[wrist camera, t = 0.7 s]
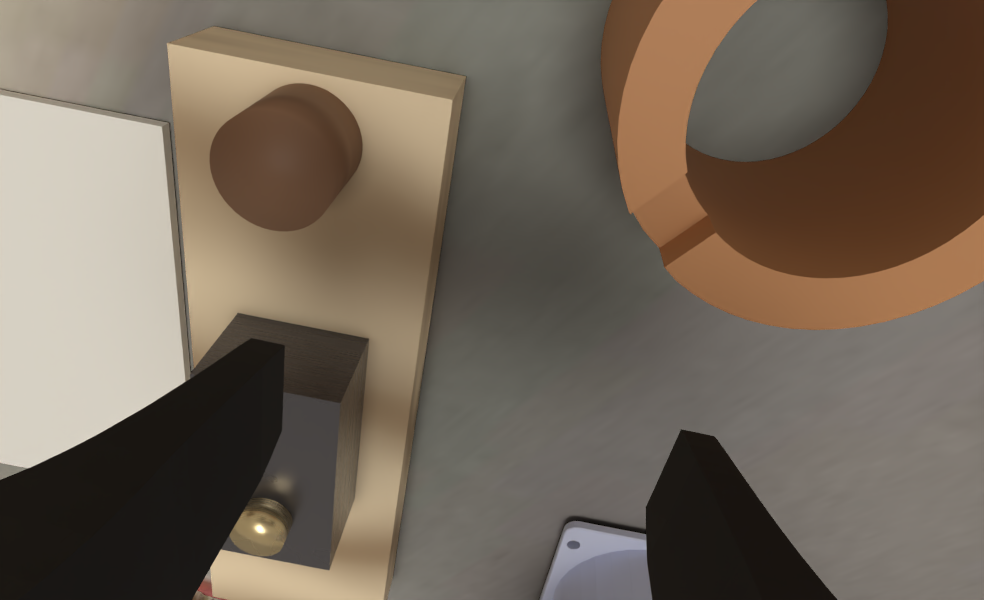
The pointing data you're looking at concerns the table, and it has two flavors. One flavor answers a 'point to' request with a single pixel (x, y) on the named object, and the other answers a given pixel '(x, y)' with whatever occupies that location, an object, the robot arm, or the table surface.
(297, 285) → the body
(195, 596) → the mineral rock
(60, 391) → the mat
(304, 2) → the table surface
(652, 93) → the bracket
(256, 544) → the lever cap
